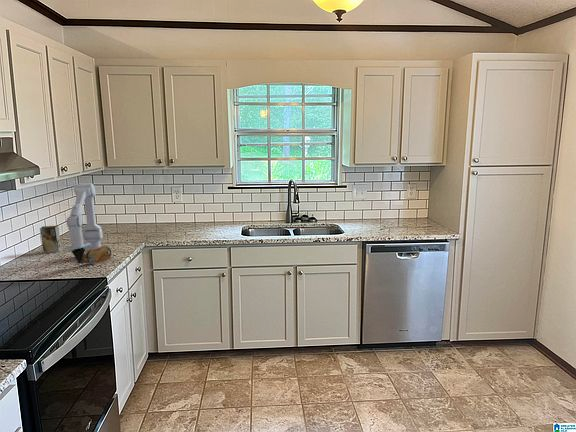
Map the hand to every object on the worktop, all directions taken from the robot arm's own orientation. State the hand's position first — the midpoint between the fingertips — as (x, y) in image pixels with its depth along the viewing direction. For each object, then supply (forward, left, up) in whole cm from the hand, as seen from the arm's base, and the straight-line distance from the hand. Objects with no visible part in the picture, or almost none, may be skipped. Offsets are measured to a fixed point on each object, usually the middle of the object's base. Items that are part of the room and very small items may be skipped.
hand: (79, 262), depth 230 cm
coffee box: (-49, +11, -3) cm, 50 cm away
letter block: (-8, +9, -3) cm, 13 cm away
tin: (0, +11, -3) cm, 12 cm away
